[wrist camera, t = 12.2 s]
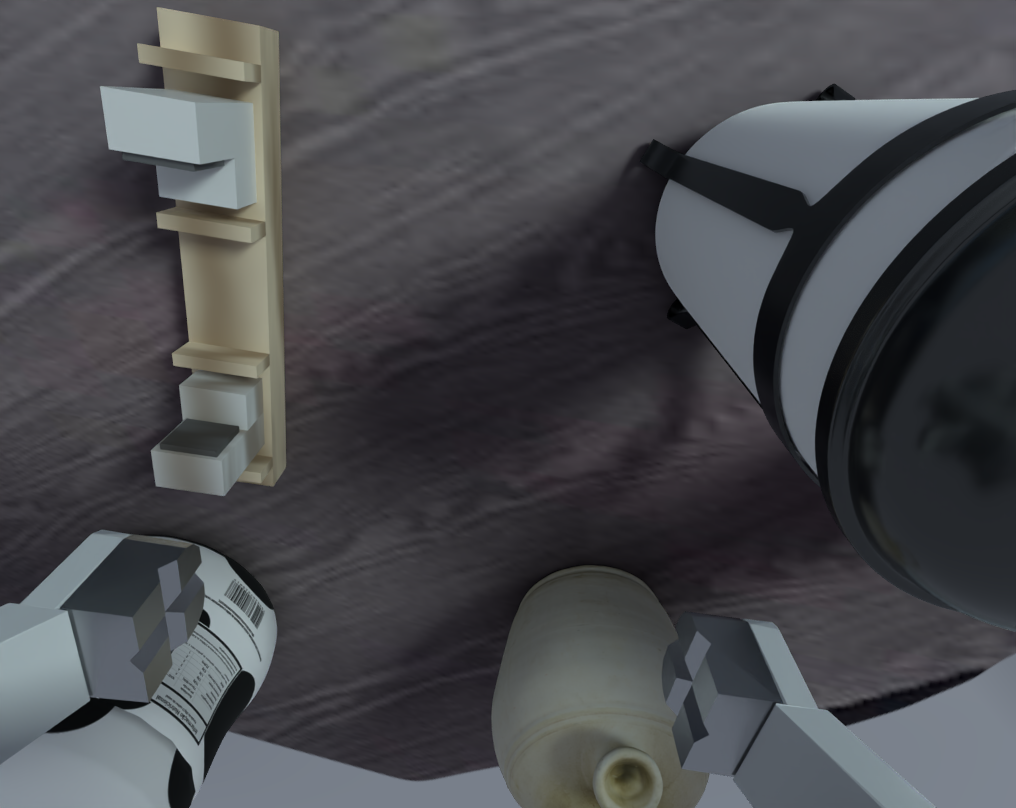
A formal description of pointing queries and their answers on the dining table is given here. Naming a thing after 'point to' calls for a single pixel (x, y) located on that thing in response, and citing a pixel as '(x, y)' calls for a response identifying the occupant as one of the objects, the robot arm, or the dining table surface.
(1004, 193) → the coffee press
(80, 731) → the milk container
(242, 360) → the rail
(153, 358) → the dining table surface
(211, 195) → the grey block
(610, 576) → the jug
